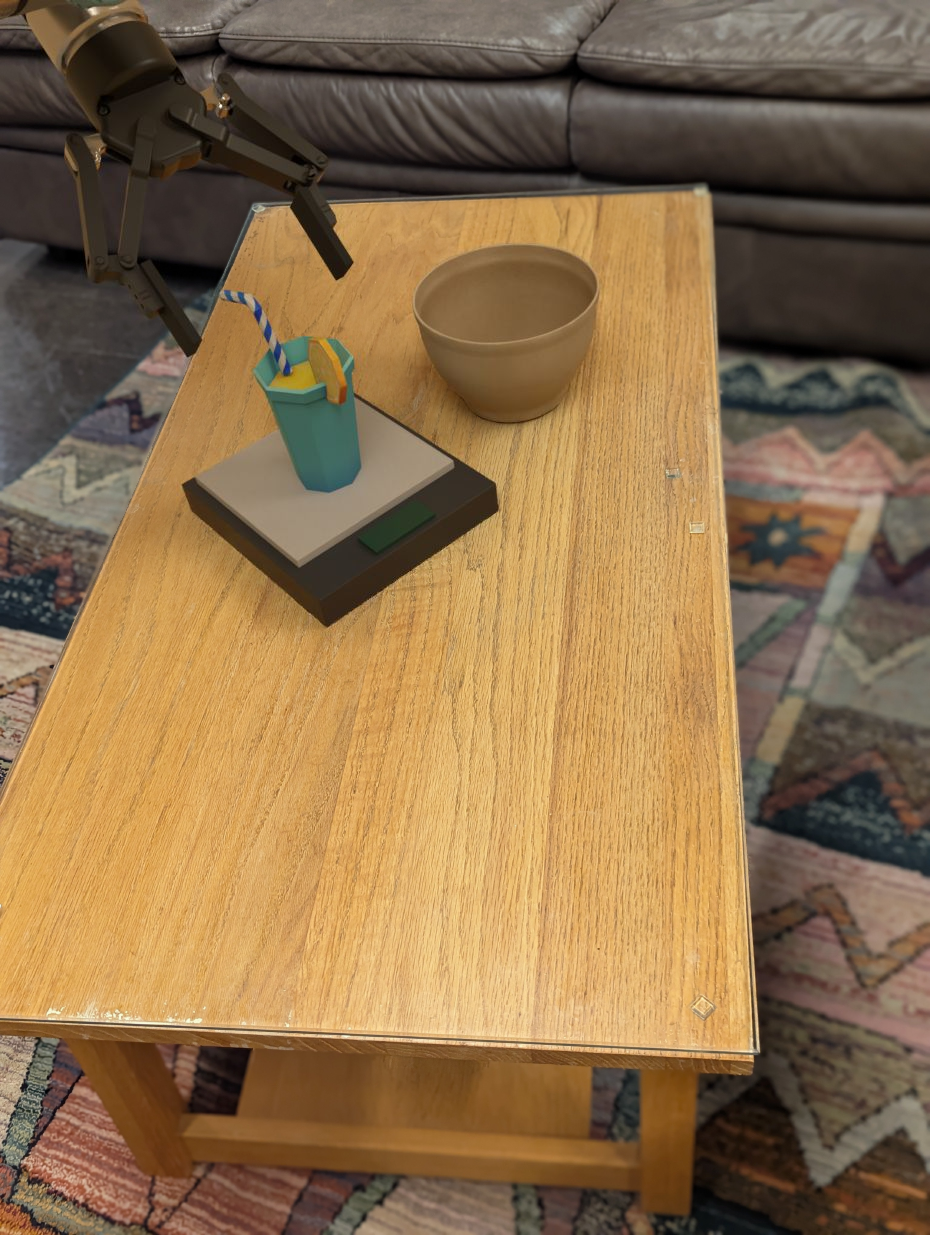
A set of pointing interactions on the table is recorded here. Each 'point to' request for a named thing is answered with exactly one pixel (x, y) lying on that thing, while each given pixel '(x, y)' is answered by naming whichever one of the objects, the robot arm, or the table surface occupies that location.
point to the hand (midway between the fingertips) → (272, 309)
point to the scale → (343, 513)
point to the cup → (310, 402)
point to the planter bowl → (508, 325)
